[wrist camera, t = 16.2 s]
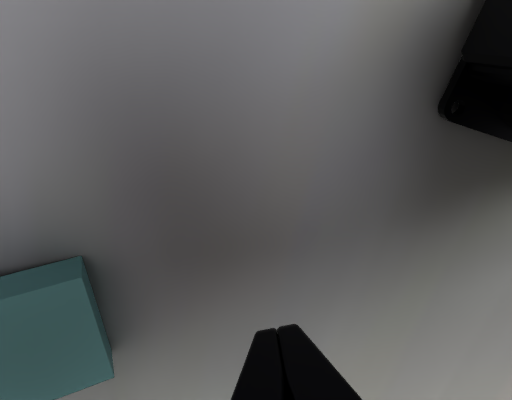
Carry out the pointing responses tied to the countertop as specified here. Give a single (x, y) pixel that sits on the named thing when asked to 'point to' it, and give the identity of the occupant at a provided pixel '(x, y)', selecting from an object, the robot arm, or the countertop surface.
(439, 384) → the countertop surface
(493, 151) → the countertop surface
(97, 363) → the tile
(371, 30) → the countertop surface
